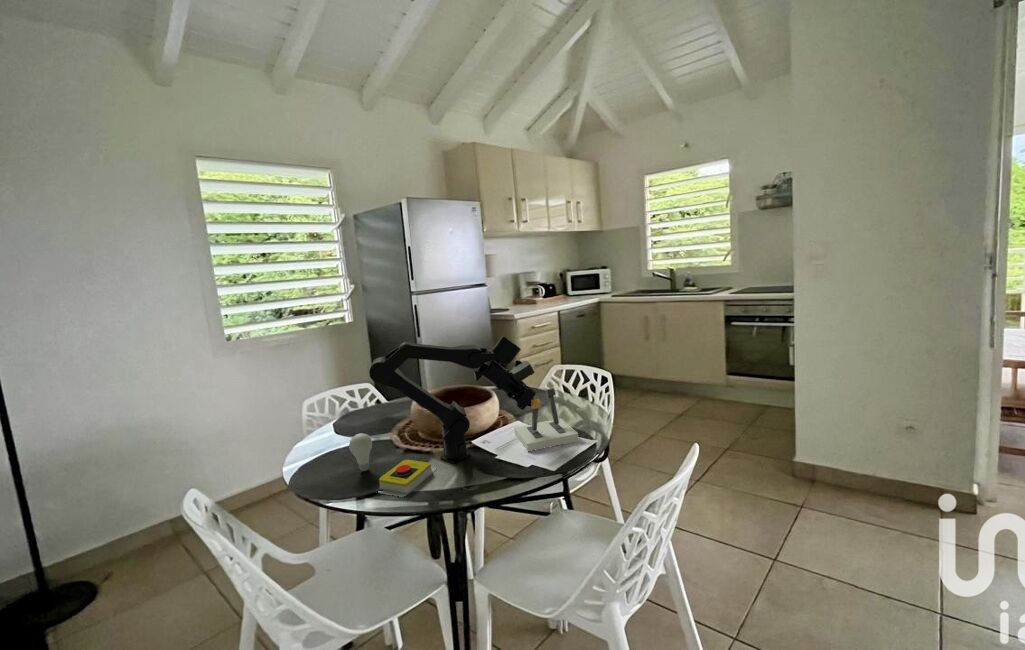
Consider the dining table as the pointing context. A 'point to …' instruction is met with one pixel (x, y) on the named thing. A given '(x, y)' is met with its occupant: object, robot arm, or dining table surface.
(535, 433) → the breaker panel
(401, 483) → the emergency button
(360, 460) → the lightbulb
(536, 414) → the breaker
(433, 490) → the dining table surface
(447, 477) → the dining table surface
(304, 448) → the dining table surface
